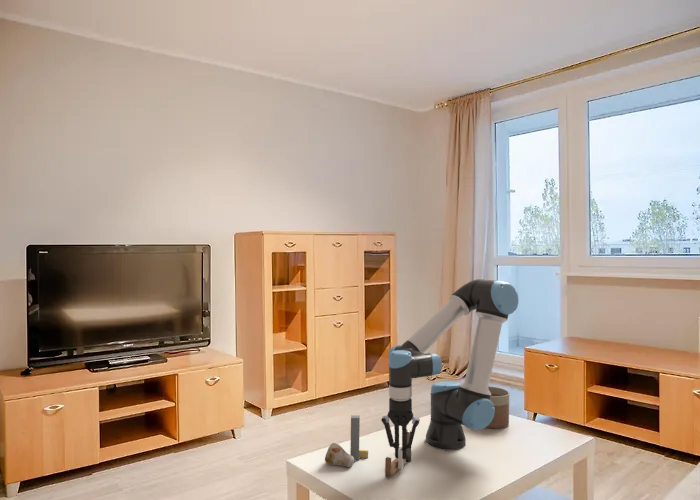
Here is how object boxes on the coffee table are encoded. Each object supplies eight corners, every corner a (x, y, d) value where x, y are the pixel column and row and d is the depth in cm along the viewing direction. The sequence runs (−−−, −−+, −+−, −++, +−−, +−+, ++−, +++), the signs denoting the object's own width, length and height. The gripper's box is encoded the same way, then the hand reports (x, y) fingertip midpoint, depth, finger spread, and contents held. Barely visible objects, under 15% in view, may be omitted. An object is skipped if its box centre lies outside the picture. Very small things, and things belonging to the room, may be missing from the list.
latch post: (368, 456, 185) (368, 415, 185) (367, 461, 181) (368, 418, 181) (350, 456, 185) (351, 414, 185) (350, 460, 182) (350, 417, 182)
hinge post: (411, 458, 184) (411, 428, 184) (411, 462, 180) (412, 431, 180) (401, 458, 184) (401, 428, 184) (402, 462, 181) (402, 431, 180)
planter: (502, 432, 211) (503, 398, 211) (465, 424, 220) (465, 392, 220) (513, 421, 224) (513, 389, 224) (477, 414, 233) (478, 384, 233)
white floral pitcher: (352, 472, 173) (337, 446, 173) (330, 478, 177) (316, 453, 177) (361, 459, 179) (347, 434, 179) (340, 465, 184) (326, 441, 184)
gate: (401, 461, 180) (401, 444, 180) (405, 462, 180) (406, 445, 180) (385, 476, 169) (385, 458, 169) (389, 477, 168) (389, 459, 168)
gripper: (420, 395, 175) (421, 464, 175) (383, 393, 178) (383, 461, 178) (418, 402, 168) (419, 474, 168) (379, 399, 170) (379, 470, 171)
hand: (400, 467), depth 173 cm, fingers closed
